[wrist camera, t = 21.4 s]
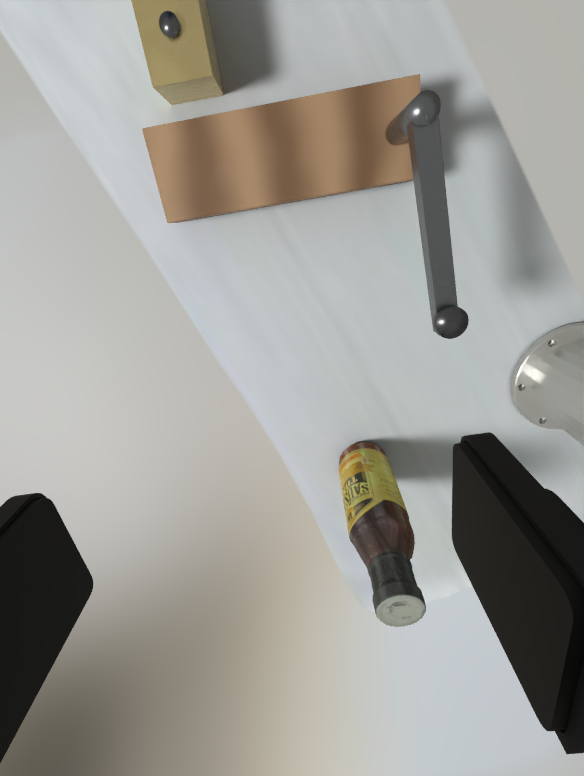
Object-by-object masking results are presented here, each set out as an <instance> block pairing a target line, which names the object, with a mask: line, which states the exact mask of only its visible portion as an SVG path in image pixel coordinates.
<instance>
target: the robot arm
mask: <svg viewBox="0 0 584 776" xmlns="http://www.w3.org/2000/svg"><path fill="white" fill-rule="evenodd" d="M510 388H511V397H512V400H513V403H514V405H515V407H516V409H517V410H518V412H519V413H520V414H522V415H523V416H524V417H525V418H526V419H527V420H529V421H530V422H531V423H533V424H535V425H537V426H540V427H545V428H549V429H563V430H564V431H566V432H567V433H568V434H569V435H571V436H572V437H573V438H575V439H576V440H577V441H578V442H580V443H581V444H582V445H584V322H580V323H574V324H568V325H565V326H562V327H559V328H557V329H555V330H553V331H551V332H549V333H547V334H545V335H544V336H542V337H541V338H540V339H538V340H537V341H536V342H534V343H533V344H532V345H531V346H530V347H529V348H528V349H527V350H526V352H525V353H524V354H523V356H522V357H521V358H520V360H519V362H518V364H517V365H516V367H515V370H514V373H513V375H512V379H511V387H510ZM452 540H453V544H454V548H455V551H456V553H457V555H458V557H459V559H460V561H461V563H462V565H463V567H464V569H465V571H466V573H467V575H468V577H469V579H470V581H471V583H472V586H473V588H474V590H475V592H476V594H477V596H478V597H479V600H480V602H481V604H482V606H483V608H484V610H485V612H486V614H487V616H488V618H489V620H490V622H491V624H492V626H493V628H494V630H495V632H496V634H497V636H498V638H499V640H500V643H501V645H502V647H503V649H504V650H505V653H506V655H507V657H508V659H509V661H510V663H511V665H512V667H513V669H514V671H515V673H516V675H517V677H518V679H519V681H520V683H521V685H522V687H523V689H524V691H525V693H526V695H527V697H528V700H529V701H530V703H531V706H532V708H533V710H534V712H535V714H536V716H537V718H538V719H539V721H540V723H541V724H542V726H543V727H544V728H545V729H546V730H547V731H555V732H556V734H557V736H558V738H559V740H560V742H561V744H562V746H563V747H564V750H565V751H566V754H575V753H584V523H583V522H582V521H581V520H580V519H579V518H578V517H577V515H576V514H575V513H574V512H573V511H572V510H571V509H570V508H569V507H568V506H567V505H566V504H565V503H564V502H563V501H562V500H561V499H560V498H559V497H558V496H557V495H556V494H555V493H554V492H552V491H550V490H548V489H544V488H543V487H542V486H541V485H540V484H539V483H538V482H537V480H536V479H535V478H534V477H533V476H532V475H531V474H530V473H529V472H528V471H527V470H526V469H525V468H524V467H523V465H522V464H521V463H520V462H519V461H518V460H517V459H516V458H515V457H514V456H513V455H512V454H511V453H510V452H509V450H508V449H507V448H506V447H505V446H504V445H503V444H502V443H501V442H500V441H499V440H498V439H497V438H496V436H495V435H493V434H492V433H481V434H474V435H467V436H463V437H462V438H461V443H457V444H454V446H453V486H452ZM92 589H93V579H92V576H91V574H90V572H89V570H88V568H87V566H86V565H85V563H84V561H83V559H82V557H81V555H80V553H79V551H78V550H77V548H76V545H75V544H74V542H73V540H72V538H71V536H70V534H69V532H68V530H67V529H66V527H65V525H64V523H63V521H62V519H61V517H60V515H59V513H58V512H57V509H56V507H55V506H54V504H53V502H52V501H51V500H50V499H48V498H46V497H45V496H44V495H43V494H41V493H35V494H26V495H19V496H14V497H11V498H10V499H8V500H7V501H6V502H5V503H4V504H3V505H2V506H1V507H0V763H1V761H2V759H3V757H4V755H5V753H6V752H7V750H8V748H9V746H10V744H11V742H12V740H13V738H14V737H15V735H16V733H17V731H18V729H19V727H20V725H21V724H22V722H23V720H24V718H25V716H26V714H27V712H28V710H29V708H30V707H31V705H32V703H33V701H34V699H35V697H36V695H37V694H38V692H39V690H40V688H41V686H42V684H43V682H44V681H45V679H46V677H47V675H48V673H49V671H50V669H51V668H52V666H53V664H54V662H55V660H56V658H57V656H58V654H59V653H60V651H61V649H62V647H63V645H64V643H65V641H66V640H67V638H68V636H69V634H70V632H71V630H72V628H73V627H74V625H75V623H76V621H77V619H78V617H79V615H80V614H81V612H82V610H83V608H84V606H85V604H86V602H87V600H88V599H89V596H90V595H91V592H92Z"/></svg>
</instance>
